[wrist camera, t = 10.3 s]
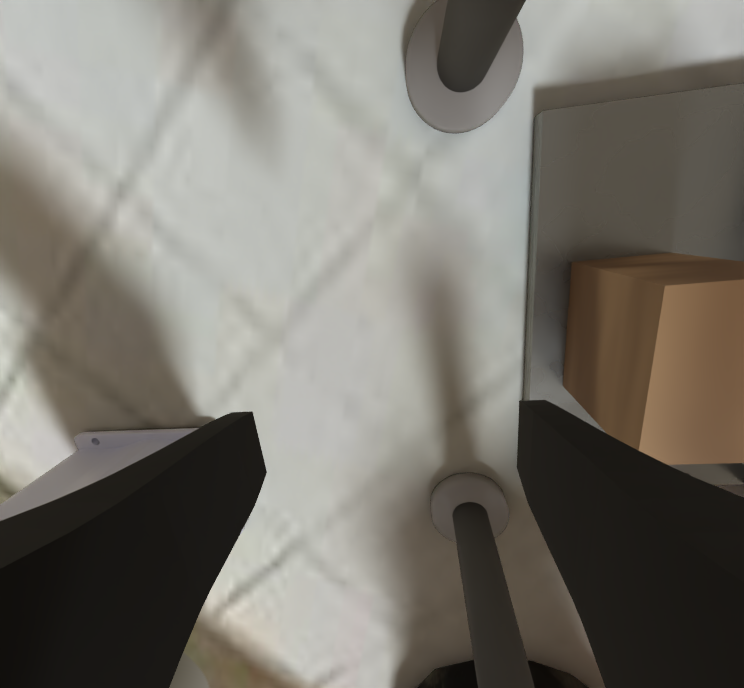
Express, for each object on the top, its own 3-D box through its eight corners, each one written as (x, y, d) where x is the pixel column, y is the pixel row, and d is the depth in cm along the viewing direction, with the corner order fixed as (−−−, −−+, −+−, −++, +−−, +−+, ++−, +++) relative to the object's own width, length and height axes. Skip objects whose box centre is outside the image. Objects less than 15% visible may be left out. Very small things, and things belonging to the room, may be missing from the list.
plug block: (562, 385, 17) (636, 465, 12) (571, 261, 16) (665, 285, 10) (651, 381, 17) (772, 462, 11) (672, 252, 15) (830, 272, 9)
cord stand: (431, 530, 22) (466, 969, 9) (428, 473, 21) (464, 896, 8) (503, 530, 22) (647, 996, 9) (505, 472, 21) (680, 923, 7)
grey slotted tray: (520, 474, 20) (553, 550, 16) (534, 117, 15) (593, 69, 10) (753, 471, 19) (866, 553, 14) (870, 72, 13) (1124, -9, 9)
